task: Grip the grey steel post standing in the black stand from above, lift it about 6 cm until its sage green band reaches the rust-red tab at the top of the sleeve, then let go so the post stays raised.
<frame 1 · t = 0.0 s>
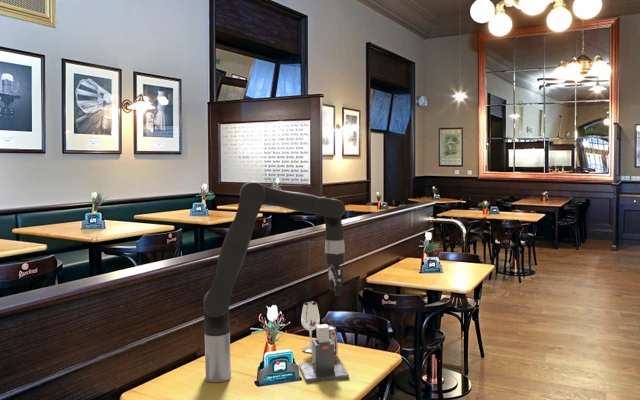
hand: (335, 293, 220), 29 cm above the table, tool pointing down, fingers open, 8 cm apart
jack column: (322, 346, 216), point 10 cm above the table, slide at 0.0 cm
wineglass: (310, 350, 242), on the table
soda can: (329, 356, 235), on the table
stand base: (323, 372, 217), on the table
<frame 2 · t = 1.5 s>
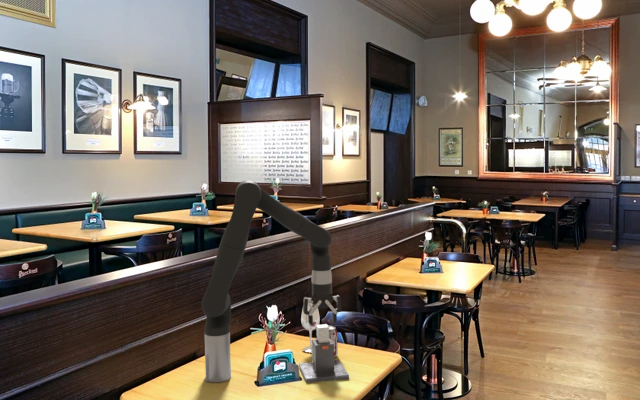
hand: (322, 323, 215), 19 cm above the table, tool pointing down, fingers open, 8 cm apart
nothing on the table moved.
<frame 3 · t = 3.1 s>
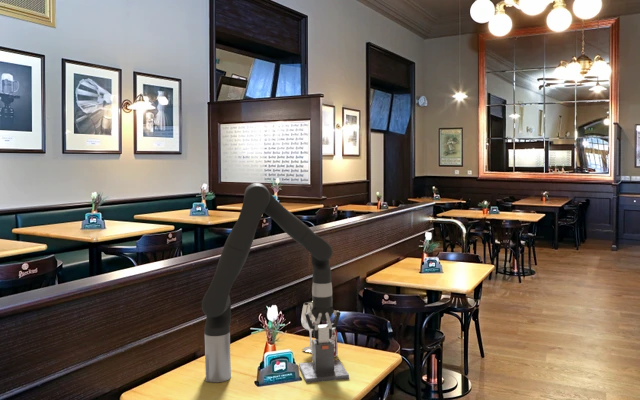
hand: (322, 338, 216), 13 cm above the table, tool pointing down, fingers closed on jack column, 4 cm apart
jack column: (322, 346, 216), point 10 cm above the table, slide at 0.0 cm, touching gripper
everything else where it was.
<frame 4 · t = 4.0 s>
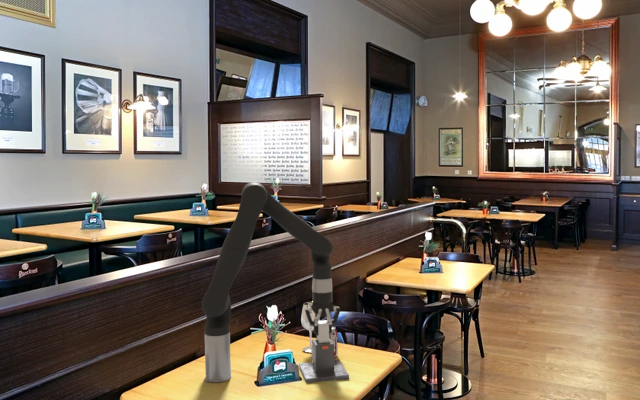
hand: (322, 334, 216), 15 cm above the table, tool pointing down, fingers closed on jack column, 4 cm apart
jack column: (322, 342, 216), point 12 cm above the table, slide at 1.6 cm, touching gripper
everything else where it was.
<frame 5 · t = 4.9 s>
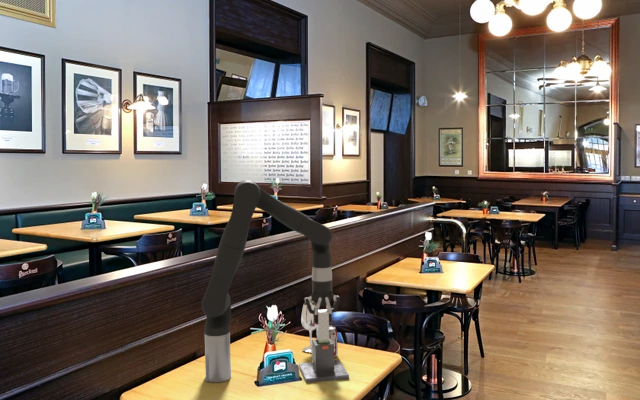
hand: (322, 323, 215), 19 cm above the table, tool pointing down, fingers closed on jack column, 4 cm apart
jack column: (322, 331, 216), point 16 cm above the table, slide at 5.8 cm, touching gripper
everything else where it was.
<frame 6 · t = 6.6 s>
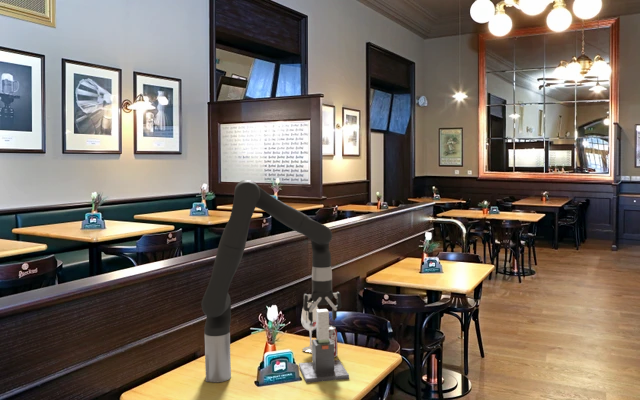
hand: (322, 320, 215), 20 cm above the table, tool pointing down, fingers open, 8 cm apart
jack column: (322, 331, 216), point 16 cm above the table, slide at 5.9 cm
everything else where it was.
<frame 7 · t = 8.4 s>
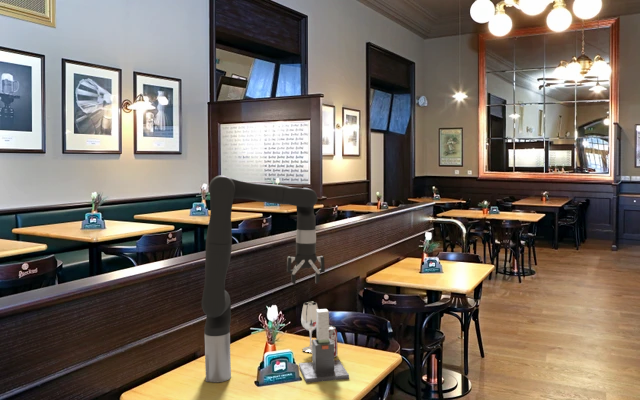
hand: (305, 283, 217), 34 cm above the table, tool pointing down, fingers open, 8 cm apart
nothing on the table moved.
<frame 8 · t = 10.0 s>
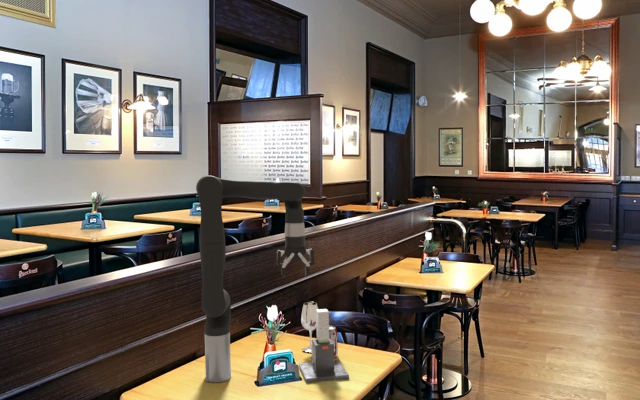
hand: (295, 276, 218), 36 cm above the table, tool pointing down, fingers open, 8 cm apart
nothing on the table moved.
at the end: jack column slide at 5.9 cm; the gripper is holding nothing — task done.
